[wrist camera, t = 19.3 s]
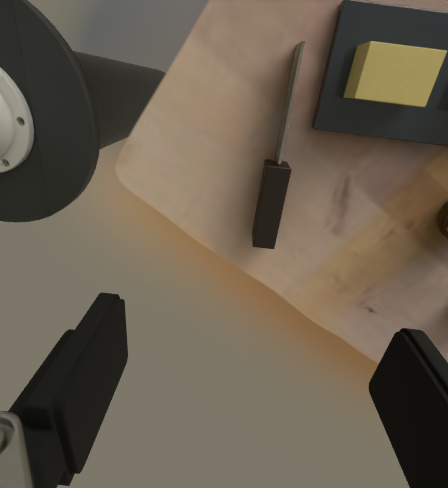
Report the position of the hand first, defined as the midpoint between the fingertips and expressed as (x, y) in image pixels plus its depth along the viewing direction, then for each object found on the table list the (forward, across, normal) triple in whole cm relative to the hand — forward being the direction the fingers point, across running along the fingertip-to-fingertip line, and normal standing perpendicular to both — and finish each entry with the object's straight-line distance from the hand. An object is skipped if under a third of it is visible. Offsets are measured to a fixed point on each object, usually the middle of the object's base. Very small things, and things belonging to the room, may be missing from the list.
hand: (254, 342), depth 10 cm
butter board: (+24, -14, -10) cm, 30 cm away
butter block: (+23, -11, -10) cm, 28 cm away
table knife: (+24, -3, -2) cm, 25 cm away
